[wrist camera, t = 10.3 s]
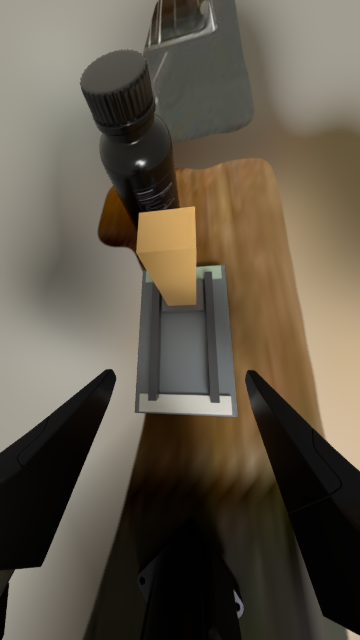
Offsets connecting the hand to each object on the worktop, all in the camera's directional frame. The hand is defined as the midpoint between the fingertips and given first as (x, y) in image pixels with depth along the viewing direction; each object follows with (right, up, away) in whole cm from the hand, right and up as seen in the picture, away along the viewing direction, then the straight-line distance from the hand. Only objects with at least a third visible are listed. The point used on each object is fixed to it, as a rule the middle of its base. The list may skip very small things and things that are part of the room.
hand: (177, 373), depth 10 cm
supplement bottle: (-3, +18, +12) cm, 21 cm away
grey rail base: (+1, +2, +8) cm, 8 cm away
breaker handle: (+1, +6, +7) cm, 9 cm away
